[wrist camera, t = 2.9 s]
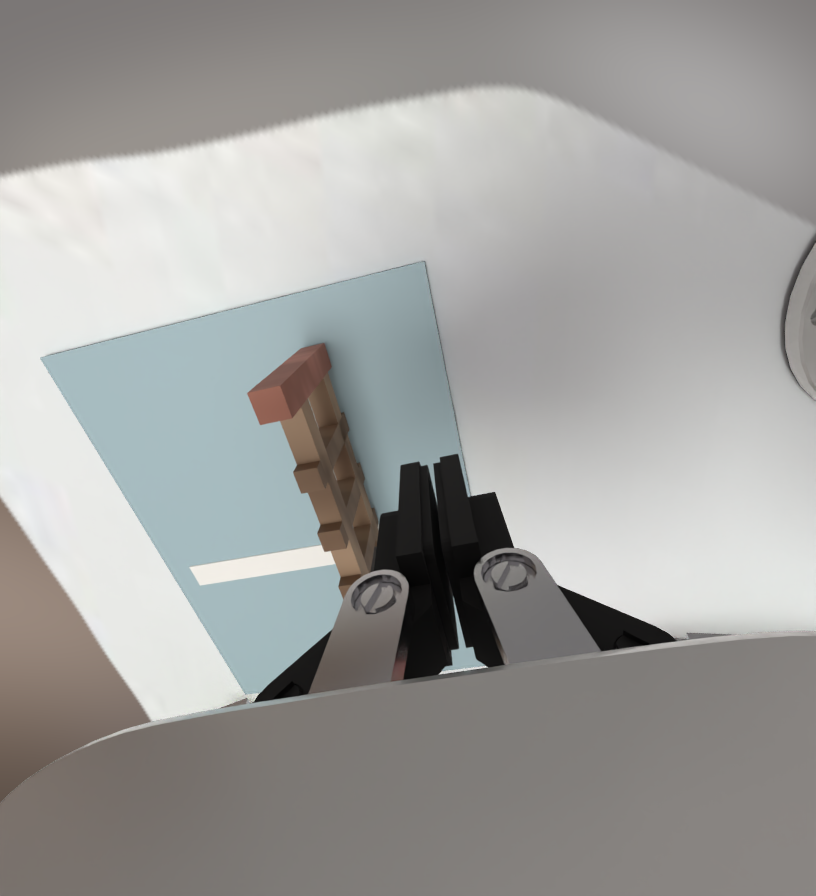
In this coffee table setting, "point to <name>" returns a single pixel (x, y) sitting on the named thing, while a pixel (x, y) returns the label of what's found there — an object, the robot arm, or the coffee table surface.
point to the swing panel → (322, 457)
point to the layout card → (263, 449)
